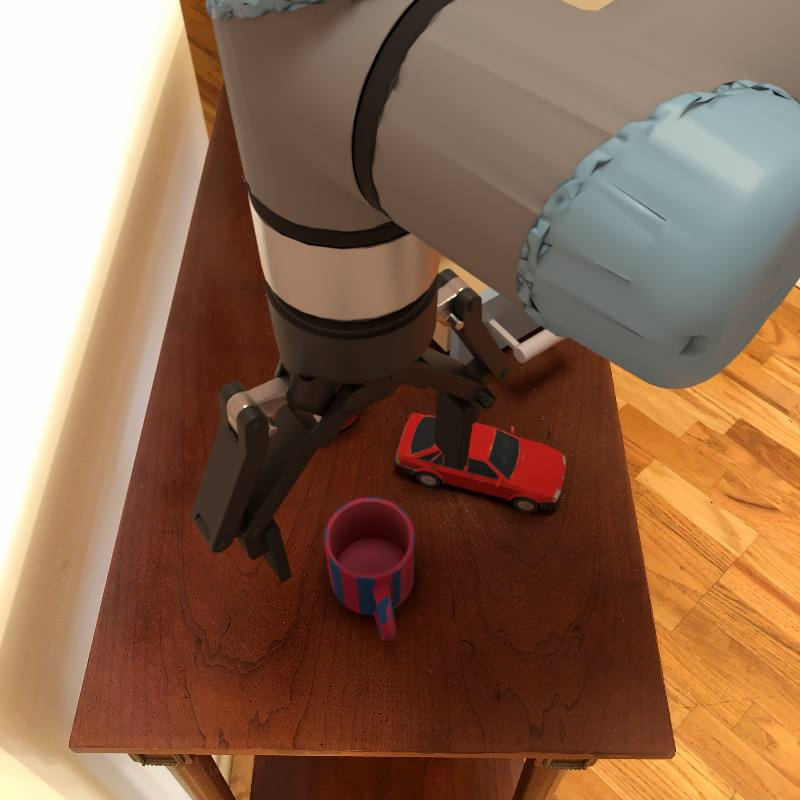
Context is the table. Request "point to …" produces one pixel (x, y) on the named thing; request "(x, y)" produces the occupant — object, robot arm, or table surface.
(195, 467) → the table surface
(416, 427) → the toy car
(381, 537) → the cup
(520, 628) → the table surface
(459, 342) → the drawer
